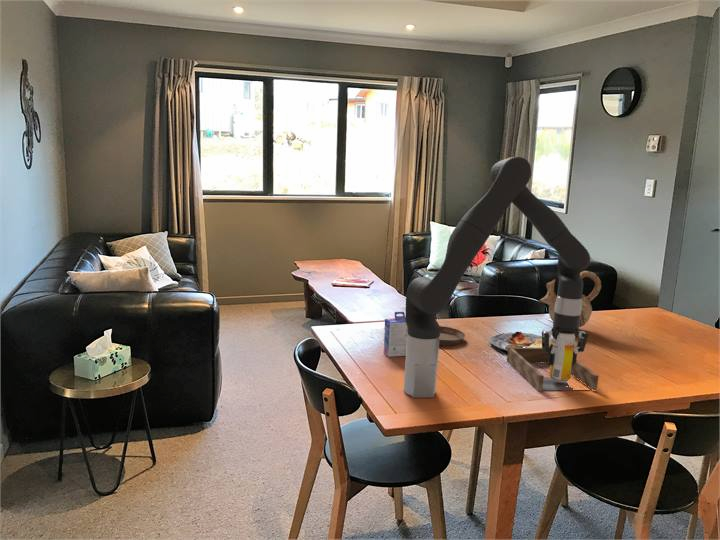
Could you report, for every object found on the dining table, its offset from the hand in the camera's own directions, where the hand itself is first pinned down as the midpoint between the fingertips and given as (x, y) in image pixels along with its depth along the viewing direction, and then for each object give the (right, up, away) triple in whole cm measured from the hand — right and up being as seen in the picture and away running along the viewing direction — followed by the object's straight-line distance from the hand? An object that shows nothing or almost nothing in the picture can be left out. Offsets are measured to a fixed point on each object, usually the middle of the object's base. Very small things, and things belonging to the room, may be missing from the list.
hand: (561, 364), depth 178 cm
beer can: (0, -5, +1) cm, 5 cm away
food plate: (-1, 0, +35) cm, 35 cm away
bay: (-1, -5, +8) cm, 9 cm away
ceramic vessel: (+23, +4, +61) cm, 65 cm away
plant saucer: (-31, +2, +40) cm, 51 cm away
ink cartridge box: (-48, 0, +22) cm, 53 cm away
